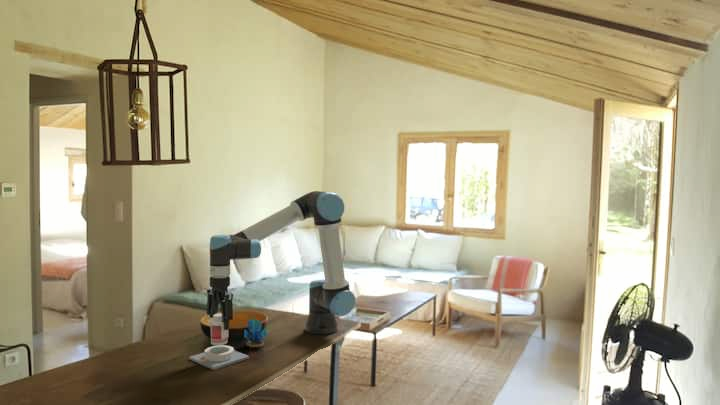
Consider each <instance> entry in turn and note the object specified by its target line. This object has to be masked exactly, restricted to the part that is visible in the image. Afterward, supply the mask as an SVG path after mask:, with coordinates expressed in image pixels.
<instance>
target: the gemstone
mask: <svg viewBox="0 0 720 405" xmlns="http://www.w3.org/2000/svg"><path fill="white" fill-rule="evenodd" d="M246 323H247V327H248V330H249V331H248V330H246V329H244V335H243V338H244V339H246V340H247V342H246V346H247V347H248V346H249V347H248V348H252V347H253V348H255V347H256V348H261V347H263V346H264V345H265V341H263V340H264V339H265V338H266V337H267V336H268V329H267V327H265V328H264V329H263V328H262V327H263V326H262V322H261V321H260V320H258V319H256V318H254V317H253V318H251V319H250V320H248V321H247V322H246ZM262 329H263V330H262Z"/></svg>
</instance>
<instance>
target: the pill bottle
mask: <svg viewBox="0 0 720 405" xmlns="http://www.w3.org/2000/svg"><path fill="white" fill-rule="evenodd" d="M225 318H226V317H225ZM213 319H214V320H213V321H212V322H211V324H210V344H211V345H212V346H219V345H226V344H228V340H229V339H228V338H229V336H228V337H227V338H224V339H222V338H221V321H223V319H222V313H221V312H220V313H217V314H214V315H213Z"/></svg>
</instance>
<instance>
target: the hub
mask: <svg viewBox="0 0 720 405" xmlns="http://www.w3.org/2000/svg"><path fill="white" fill-rule="evenodd" d="M246 359H247V360H249V359H250V356H249V355H247V354H245V353H242V352H239V351H237V350H235V349H234V347H233V346H230V345H226V344H224V345H212V346H209V347H207V348H206V349H204V352H200V353H198V354H194V355H191V356H189V357H188V360H189V361H192V362H195V363H197V364H199V365H201V366H203V367H205V368H208V369H209V370H212V371H215V370H219V369H222V368H224V367H228V366H231V365H234V364H237V363H240V361H241V362H243V360H244V361H247V360H246Z"/></svg>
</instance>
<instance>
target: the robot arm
mask: <svg viewBox="0 0 720 405" xmlns="http://www.w3.org/2000/svg"><path fill="white" fill-rule="evenodd" d="M344 212H345V203H344V200H343V199H342V197H341V196H340V195H339V194H337V193H334V192H332V191H318V190H314V191H310V192H308V193H306V194H304V195H302V196H300V197H298V198H296V199H294V200H292V201H291V202H290V204H289V205H288V206H286V207H284V208H283V209H280V210H278V211H277V212H275V213H272V214H271V215H269V216H267V217H265V218H263V219H261V220H260V221H258V222H256V223H254V224H252V225H250V226H249V227H246V228H244V229H242V230H240V231H239V232H237V233H235V234H227V235H226V234H225V235H224V234H223V235H222V234H216V235H213V236H211V237H210V240H209V275H210V277H209V287H210V288H209V289H207V290H206V294H207V298H206V315H207V316H209V318H210V321H209V322H210V325H211V322H212V321H213V320H214V319H213V315H214V314H218V310H219V306H220V313H222V319H223V321H221V338H222V339H224V338H227V337H228V338H229V330H230V321H233V320H234V314H233V313H234V309H233V300H234V294H233V293H229V290H228V289H229V287H230V286H231V261H233V260H246V259H250V260H252V259H257V258H259V257H260V255H261V253H262V245H261V241H264V239H267V238H269V237H271V236H272V235H274V234H276V233H278V232H280V231H281V230H283V229H285V228H287V227H289V226H291V225H293V224H294V223H296V222H298V221H299V222H304V221H305V220H308V219H312V218H313V224H314V226H315V227H316V228H317V229H318V236H319V242H320V250H321V258H322V260H321V261H322V266H323V267H322V268H323V272H324V273H323V274H324V279H315V280H311V281H310V282H309V287H308V290H309V291H308V292H309V295H308V296H309V297H308V298H309V300H308V304H309V306H308V311H309V312H308V315H307V319H306V323H304V324H305V325H304V331H306V332H307V333H309V334H313V335H330V334H333V333H336V332H337V331H338V330H339V324H338V322H337V318H336V316H338V317H344V316H347V315H348V314H350V313H351V312H352V310H353V309H354V308H355V305H356V296H355V294H354V292H352V291H351V290H350V283H349V281H348V280H347V279H346V278H345V269H344V263H343V262H344V261H343V254H342V253H343V252H342V246H341V244H342V243H341V236H340V229H339V226H340V224H341V223H342V216H343V214H344ZM225 317H226V318H225Z"/></svg>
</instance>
